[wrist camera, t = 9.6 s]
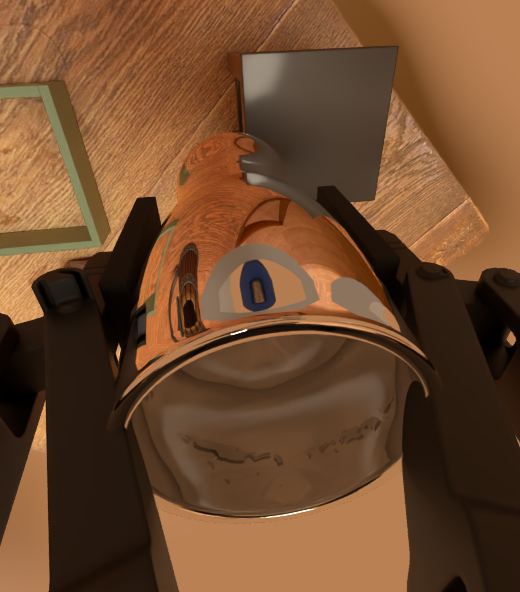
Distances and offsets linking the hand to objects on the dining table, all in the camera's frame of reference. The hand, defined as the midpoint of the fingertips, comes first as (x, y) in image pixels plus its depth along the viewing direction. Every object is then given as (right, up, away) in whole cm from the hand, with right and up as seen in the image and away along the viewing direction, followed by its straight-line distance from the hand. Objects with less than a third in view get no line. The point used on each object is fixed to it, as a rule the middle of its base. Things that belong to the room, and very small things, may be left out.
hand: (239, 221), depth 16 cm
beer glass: (0, +2, +3) cm, 4 cm away
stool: (+2, +20, +27) cm, 33 cm away
